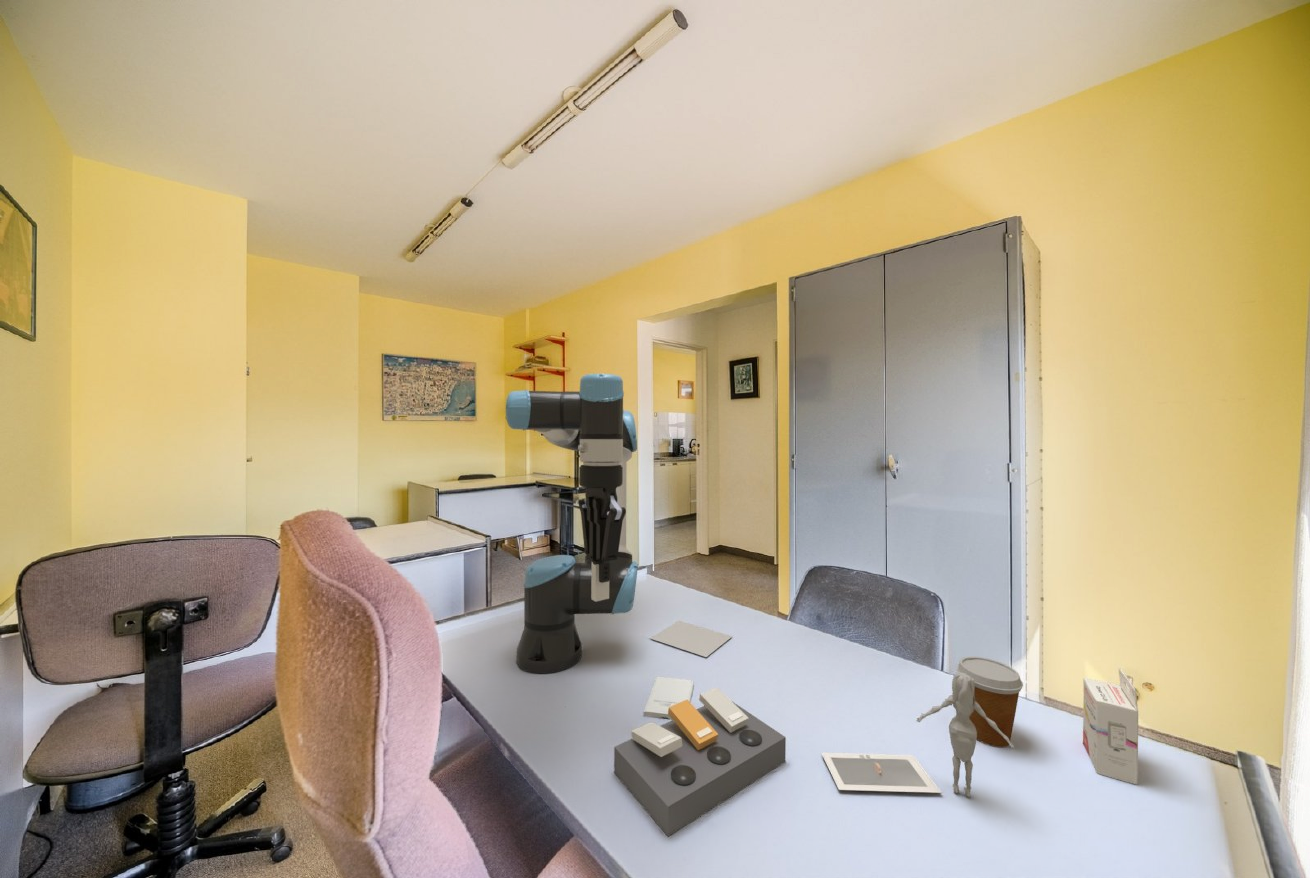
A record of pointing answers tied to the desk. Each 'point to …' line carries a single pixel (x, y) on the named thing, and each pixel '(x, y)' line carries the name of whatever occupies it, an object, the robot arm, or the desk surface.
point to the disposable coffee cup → (993, 697)
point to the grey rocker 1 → (656, 739)
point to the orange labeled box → (693, 724)
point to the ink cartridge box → (1111, 728)
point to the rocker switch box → (698, 769)
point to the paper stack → (692, 638)
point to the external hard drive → (667, 696)
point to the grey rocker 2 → (723, 709)
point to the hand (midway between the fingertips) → (600, 598)
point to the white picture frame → (879, 772)
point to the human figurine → (963, 726)
